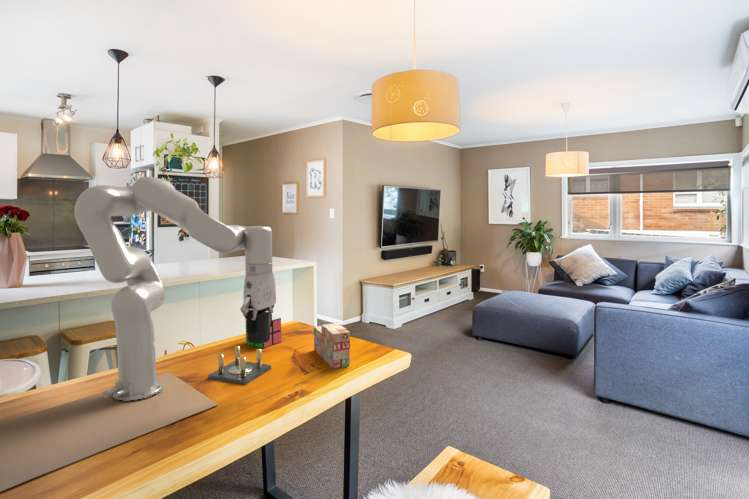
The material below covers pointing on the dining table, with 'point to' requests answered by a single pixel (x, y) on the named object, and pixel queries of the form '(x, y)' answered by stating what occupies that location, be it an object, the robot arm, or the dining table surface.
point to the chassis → (239, 369)
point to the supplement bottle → (260, 328)
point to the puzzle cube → (271, 334)
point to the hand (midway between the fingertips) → (259, 329)
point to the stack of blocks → (333, 344)
